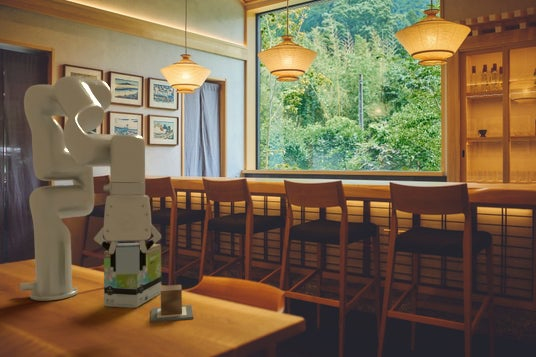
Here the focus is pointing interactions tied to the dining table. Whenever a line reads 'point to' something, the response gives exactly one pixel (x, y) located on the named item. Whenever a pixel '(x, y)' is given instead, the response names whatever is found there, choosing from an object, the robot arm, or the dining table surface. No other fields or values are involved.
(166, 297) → the walnut block
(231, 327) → the dining table surface
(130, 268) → the blue-grey block
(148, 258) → the tea box
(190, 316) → the slate mat
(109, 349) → the dining table surface
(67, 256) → the robot arm
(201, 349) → the dining table surface
